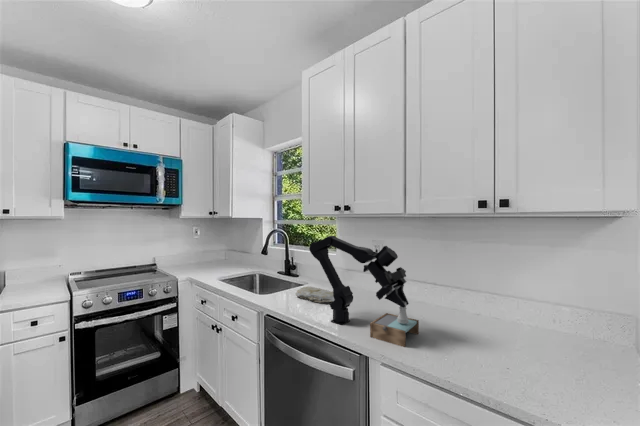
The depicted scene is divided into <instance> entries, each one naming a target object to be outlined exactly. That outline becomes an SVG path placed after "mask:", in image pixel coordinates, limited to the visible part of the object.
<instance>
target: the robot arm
mask: <svg viewBox="0 0 640 426" xmlns="http://www.w3.org/2000/svg"><path fill="white" fill-rule="evenodd" d="M331 247H334V248H336V249H337V250H340V251H343V252H344V253H346V254H349V255H350V256H352V258H353V259H354V260H356V261H357V262H358V263H360V264H364V265H363V271H362V272H363V273H366V272H369V273H370V274H371V275H372V277H373V278H374V279H375V280H374V282H375V284H377V283H378V284H379V285H380V287H381V288H379V290H377V291H376V292H375V294H376V295H375V296H376V298H377V299H378V300H379V301H380V300H381V299H383V298H384V299H385V300H387V301H390V302H392V303H394V304H396V305H398V306H399V307H400V306H401V307H403V308H404V307H405V304H404V302H403V301H406V304H407V306H409V304H410V303H409V301H408V299H407V296H406V294H405V292H404V287H405V284H406V283H407V280H406V279H405V278H406V277H407V275H406V273H407V271H406V270H405V269H404V268H403V267H402V266H400V267H397V268H396V269H395V271H394V272H391V271H390V270H387V269H386V268H385V267H389V266H390V265H391V264H393V262H395V261H396V260H397V259H398V257H399V255H397V252H396V251H395V250H393V249H392V248H390V247H388V246H387V245H384V246H383V247H382V248H381V250H379V251H378V252H376V251H373V249H371V248H368V247H366V246H365V247H364V246H357V245H354V244H352V243H350V242H348V241H345V240H343V239H341V238H339V237H337V236H334V235H328V236H327V237H324V238H323V239H321V240H318V241H313V242H311V243H310V245H309V252H310V253H311V255H312V257H314V259H316V260H317V261H318V262H319V263H320V266H321V268H322V270H323V271H324V274H325V276H326V278H327V280H328V282H329V283H330V286H331V287H332V288H331V289H332V290H333V291H332V292H333V297H334V301H333V302H330V304H329V307H330V310H332V319H331V320H330V322H331V323H334V324H337V325H340V326H344V325H345V324H347V323H349V322H351V319H350V312H349V307H350V306H351V304H352V303H353V301H354V295H353V291H352V289H351V287H350V285H347V286H346V285H345V284H343V282H342V280H341V279H340V276H339V274H338V272H337V270H336V268H335V266H334V265H333V262H332V261H331V259H330V257H329V256H330V255H329V249H330V248H331ZM366 263H368V264H366Z"/></svg>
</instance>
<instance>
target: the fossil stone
mask: <svg viewBox="0 0 640 426" xmlns="http://www.w3.org/2000/svg"><path fill="white" fill-rule="evenodd" d="M296 296H297V297H298V298H300V299H303V300H308V301H311V302H315V303H320V304H321V303H322V304H323V303H332V302H333V301H334V297H333V291H331V290H328V289H324V288H320V287H314V286H312V285H311V286H309V285H308V286H303V287H300V288H299V289H297V290H296V293H295V297H296Z"/></svg>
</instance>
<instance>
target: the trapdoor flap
mask: <svg viewBox="0 0 640 426" xmlns="http://www.w3.org/2000/svg"><path fill="white" fill-rule="evenodd" d="M397 320H398V319H397V316H392V315H386V316H385V317H383V318H382V319H380V320H378V321H377V322H375V323H376V324H380V325H384V326H388V327H391V328H395V329H399V330H403V331H406V333H408V332H407V331H409V330H410V329H411V328H412V327H413V326H415V325H416V324H417V321H414V320H410V319H408V321H409V322H408V323H407V324H401V323H398V321H397Z"/></svg>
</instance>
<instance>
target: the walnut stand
mask: <svg viewBox="0 0 640 426" xmlns="http://www.w3.org/2000/svg"><path fill="white" fill-rule="evenodd" d="M386 315H392V316H397V317H398V315H399V314H393V313H389V312H385V313H384V314H383V315H381V316H380V317H377V318H376V319H375V320H373V321H371V322H370V323H369V324H370V325H369V327H370V329H369V333H370V334H369V337H370V338H372V337H373V339H375V338H376V340H380V341H382V342H386V343H389V344H392V345H397V346H398V347H399V346H400V347H403V348H405V347H406V346H407V345H406V342H407V341H406V339H407V337H406V335H407V334H406V333H411V334H413V335H417V336H418V335H419V333H420V332H419V327H420V325H419V323H420V322H419V319H414V318H412V317H411V318H410V317H408V319H410V320H414V321H417V324H416V325H415V326H413V327H412V328H411V329H410V330H409V331H407V332H406V331H403V330H399V329H395V328H391V327H388V326H384V325H380V324H376V323H375V322H377V321H378V320H380V319H382V318H383V317H385V316H386Z"/></svg>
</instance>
